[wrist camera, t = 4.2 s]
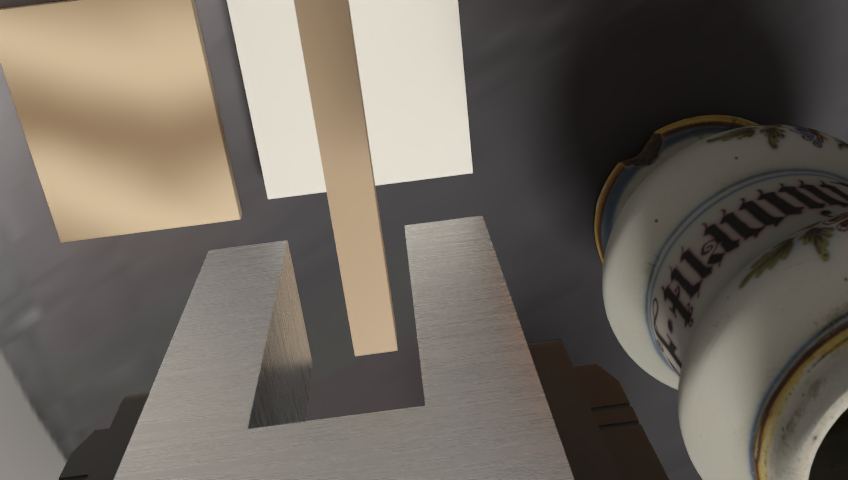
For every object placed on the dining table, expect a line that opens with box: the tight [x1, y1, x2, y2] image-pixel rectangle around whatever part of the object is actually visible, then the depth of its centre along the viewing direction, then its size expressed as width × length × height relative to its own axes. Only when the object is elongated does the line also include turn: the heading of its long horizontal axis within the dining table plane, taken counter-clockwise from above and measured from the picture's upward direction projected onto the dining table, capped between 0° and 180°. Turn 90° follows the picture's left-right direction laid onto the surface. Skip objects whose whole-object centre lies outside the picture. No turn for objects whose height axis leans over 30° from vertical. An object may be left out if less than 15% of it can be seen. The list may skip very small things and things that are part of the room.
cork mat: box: [0, 0, 242, 242], centre depth 33 cm, size 10×8×1 cm
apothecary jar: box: [594, 115, 848, 480], centre depth 29 cm, size 12×12×18 cm
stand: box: [227, 0, 473, 356], centre depth 25 cm, size 16×9×16 cm, turn 6°
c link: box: [114, 216, 574, 480], centre depth 13 cm, size 3×6×8 cm, turn 96°
